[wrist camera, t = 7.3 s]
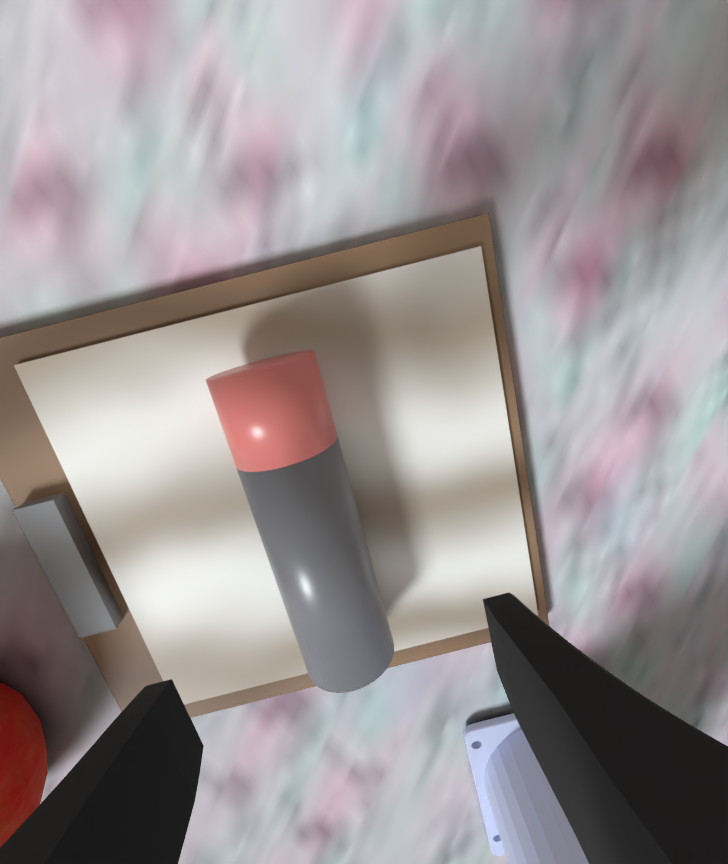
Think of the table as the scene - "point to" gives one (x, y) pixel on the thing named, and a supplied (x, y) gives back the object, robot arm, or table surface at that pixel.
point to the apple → (19, 761)
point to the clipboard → (219, 480)
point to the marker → (306, 515)
